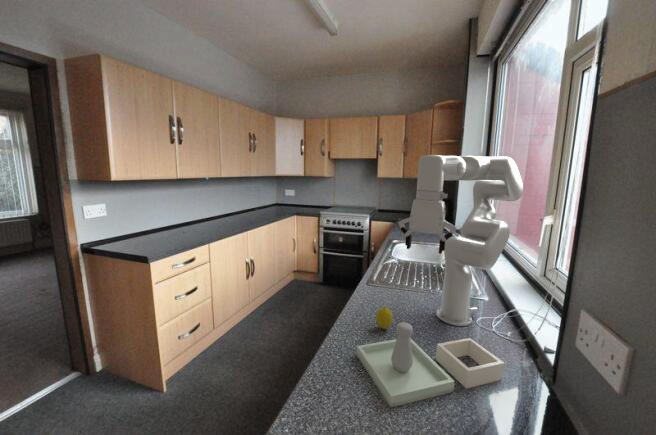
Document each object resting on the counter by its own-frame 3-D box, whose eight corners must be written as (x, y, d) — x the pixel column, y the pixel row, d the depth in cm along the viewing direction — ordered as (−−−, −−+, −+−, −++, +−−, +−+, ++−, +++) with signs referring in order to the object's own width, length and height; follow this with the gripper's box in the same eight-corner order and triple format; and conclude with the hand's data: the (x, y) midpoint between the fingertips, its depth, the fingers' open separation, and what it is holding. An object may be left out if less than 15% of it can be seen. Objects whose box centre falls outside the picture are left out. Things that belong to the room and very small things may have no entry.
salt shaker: (386, 364, 81) (389, 321, 78) (402, 359, 83) (406, 317, 81) (399, 378, 75) (403, 332, 73) (416, 372, 78) (420, 328, 76)
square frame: (468, 352, 89) (469, 337, 88) (502, 379, 77) (504, 362, 76) (435, 359, 85) (437, 343, 84) (466, 388, 74) (468, 371, 73)
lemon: (391, 334, 97) (393, 312, 96) (375, 331, 98) (376, 310, 97) (391, 325, 103) (392, 304, 101) (375, 323, 104) (377, 303, 103)
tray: (408, 345, 91) (409, 337, 91) (453, 391, 72) (454, 381, 72) (356, 355, 86) (357, 345, 85) (390, 407, 67) (391, 396, 66)
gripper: (460, 197, 87) (454, 251, 90) (403, 193, 95) (399, 243, 98) (459, 199, 81) (452, 257, 83) (397, 195, 88) (394, 248, 91)
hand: (424, 250), depth 91 cm, fingers open, 9 cm apart
